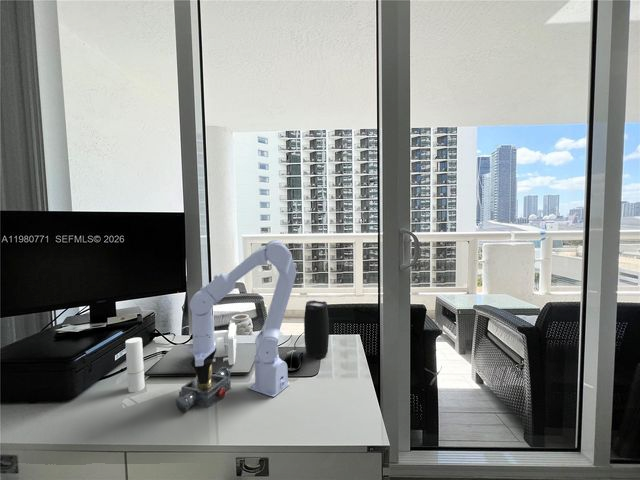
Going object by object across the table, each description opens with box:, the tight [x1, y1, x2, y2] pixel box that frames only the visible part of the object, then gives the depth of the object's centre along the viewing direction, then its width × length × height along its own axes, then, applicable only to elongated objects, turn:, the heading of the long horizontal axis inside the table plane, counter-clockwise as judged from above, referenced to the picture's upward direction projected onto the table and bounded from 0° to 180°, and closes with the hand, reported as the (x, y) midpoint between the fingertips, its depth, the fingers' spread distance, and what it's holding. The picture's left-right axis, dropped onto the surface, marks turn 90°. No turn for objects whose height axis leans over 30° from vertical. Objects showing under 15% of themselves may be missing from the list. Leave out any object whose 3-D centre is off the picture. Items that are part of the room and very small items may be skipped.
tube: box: [125, 337, 146, 393], centre depth 96 cm, size 4×4×15 cm
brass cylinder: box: [196, 363, 213, 390], centre depth 92 cm, size 4×4×6 cm
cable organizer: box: [212, 322, 238, 366], centre depth 114 cm, size 15×11×12 cm
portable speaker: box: [303, 300, 330, 360], centre depth 117 cm, size 9×9×20 cm
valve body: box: [175, 366, 232, 414], centre depth 92 cm, size 18×11×4 cm, turn 160°
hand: (205, 379), depth 92 cm, fingers closed on brass cylinder, 4 cm apart
